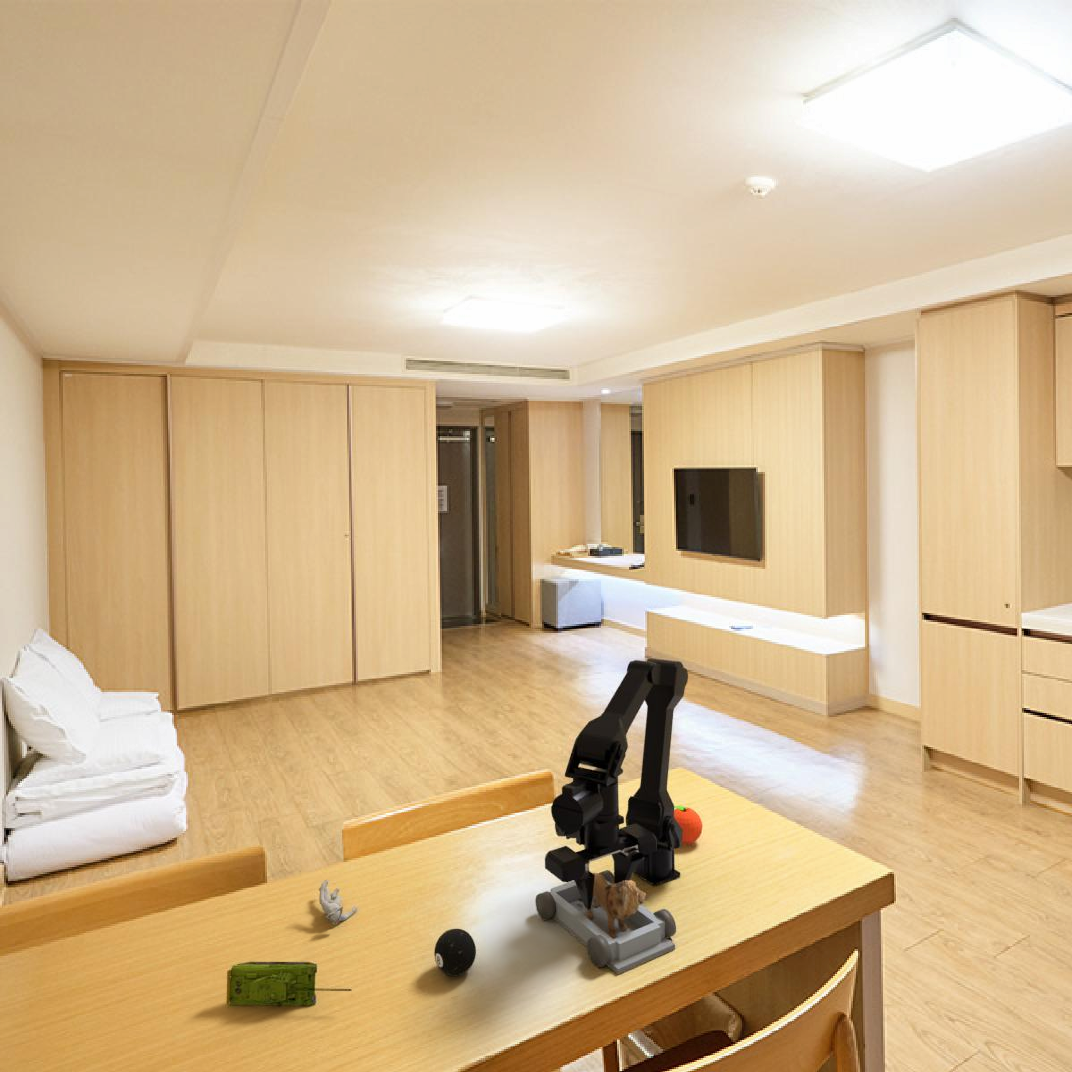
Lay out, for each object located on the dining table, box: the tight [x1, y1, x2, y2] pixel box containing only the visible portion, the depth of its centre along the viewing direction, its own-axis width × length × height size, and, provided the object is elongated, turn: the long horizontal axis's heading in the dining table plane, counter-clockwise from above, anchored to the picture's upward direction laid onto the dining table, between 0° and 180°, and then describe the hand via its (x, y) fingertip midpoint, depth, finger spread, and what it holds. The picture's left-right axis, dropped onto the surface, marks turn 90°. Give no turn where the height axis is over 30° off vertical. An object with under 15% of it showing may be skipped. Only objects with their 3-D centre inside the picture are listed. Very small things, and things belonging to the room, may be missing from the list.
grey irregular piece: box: [318, 879, 359, 926], centre depth 127 cm, size 8×5×12 cm
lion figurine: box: [578, 872, 647, 938], centre depth 121 cm, size 15×5×9 cm, turn 36°
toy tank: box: [225, 961, 352, 1007], centre depth 104 cm, size 7×19×10 cm
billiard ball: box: [433, 928, 477, 977], centre depth 111 cm, size 6×6×6 cm
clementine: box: [674, 805, 703, 845], centre depth 151 cm, size 8×7×7 cm
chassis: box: [534, 869, 677, 975], centre depth 122 cm, size 14×22×4 cm, turn 31°
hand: (603, 902), depth 122 cm, fingers open, 6 cm apart
